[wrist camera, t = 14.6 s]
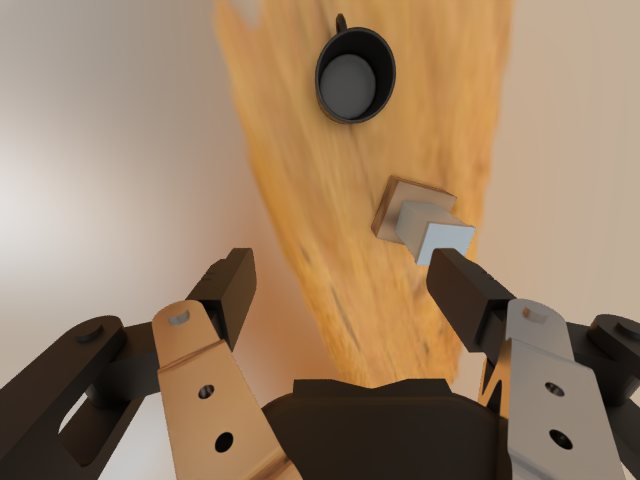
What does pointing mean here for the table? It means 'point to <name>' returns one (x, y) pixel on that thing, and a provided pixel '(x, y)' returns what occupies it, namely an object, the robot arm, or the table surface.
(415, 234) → the grey lidded pillar
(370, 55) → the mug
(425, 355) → the table surface
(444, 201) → the walnut block
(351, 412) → the robot arm
